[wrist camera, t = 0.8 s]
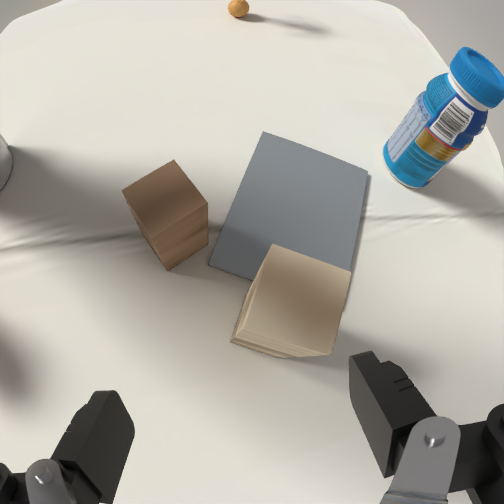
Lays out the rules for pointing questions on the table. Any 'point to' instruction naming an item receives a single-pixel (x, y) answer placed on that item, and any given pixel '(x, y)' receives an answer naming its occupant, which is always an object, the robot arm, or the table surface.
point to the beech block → (292, 306)
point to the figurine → (238, 8)
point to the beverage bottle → (444, 119)
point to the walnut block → (169, 213)
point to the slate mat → (291, 208)
